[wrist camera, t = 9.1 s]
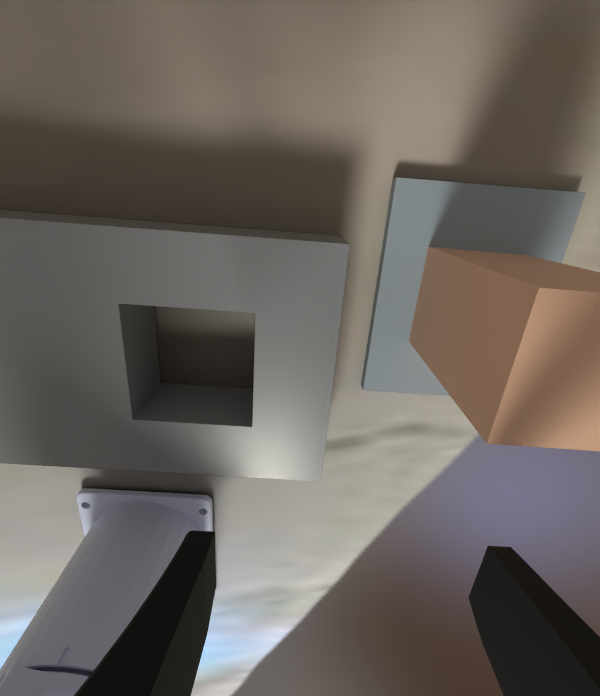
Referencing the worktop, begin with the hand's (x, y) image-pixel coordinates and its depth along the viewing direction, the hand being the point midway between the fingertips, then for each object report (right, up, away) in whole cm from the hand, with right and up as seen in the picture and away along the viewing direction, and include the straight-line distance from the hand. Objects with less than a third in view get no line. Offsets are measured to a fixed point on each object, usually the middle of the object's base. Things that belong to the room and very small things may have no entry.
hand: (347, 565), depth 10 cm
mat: (+6, +8, +8) cm, 13 cm away
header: (-8, +6, +9) cm, 13 cm away
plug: (+7, +8, +7) cm, 13 cm away
